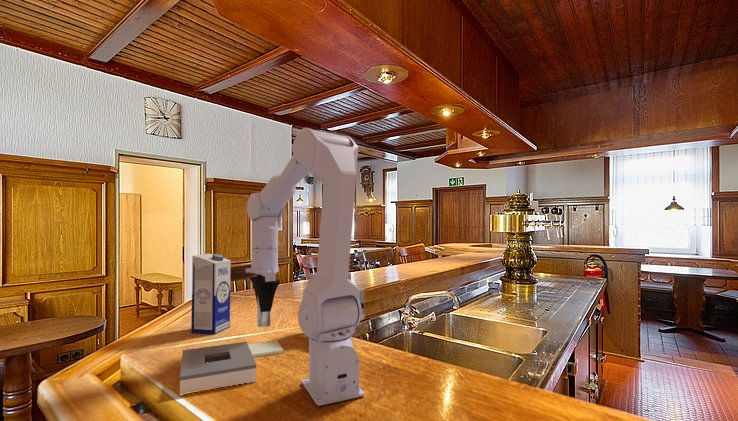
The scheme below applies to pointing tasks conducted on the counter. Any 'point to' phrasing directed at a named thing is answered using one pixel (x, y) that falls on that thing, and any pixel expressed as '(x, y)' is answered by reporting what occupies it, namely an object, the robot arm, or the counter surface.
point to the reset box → (216, 367)
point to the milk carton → (210, 293)
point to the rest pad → (265, 348)
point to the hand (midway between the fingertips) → (264, 309)
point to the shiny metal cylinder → (263, 318)
